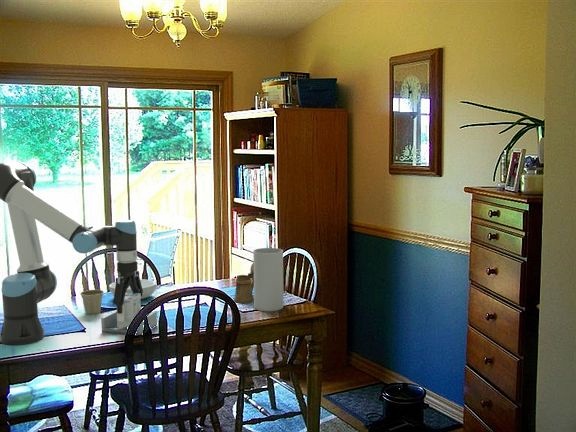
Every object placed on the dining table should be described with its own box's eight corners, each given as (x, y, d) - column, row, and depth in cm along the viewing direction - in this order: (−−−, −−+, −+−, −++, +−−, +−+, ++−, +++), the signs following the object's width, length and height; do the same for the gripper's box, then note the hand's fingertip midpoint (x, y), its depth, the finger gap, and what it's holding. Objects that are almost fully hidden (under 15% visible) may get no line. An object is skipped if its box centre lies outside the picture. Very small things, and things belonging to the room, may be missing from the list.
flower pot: (98, 316, 275) (97, 295, 273) (77, 314, 276) (76, 294, 275) (108, 309, 284) (107, 290, 283) (88, 308, 286) (87, 289, 284)
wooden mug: (266, 299, 299) (265, 260, 296) (240, 304, 291) (239, 263, 289) (255, 295, 306) (255, 257, 304) (230, 300, 298) (229, 260, 296)
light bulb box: (124, 319, 261) (124, 292, 260) (141, 319, 260) (141, 292, 259) (116, 327, 250) (115, 299, 249) (134, 327, 250) (133, 299, 249)
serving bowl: (166, 296, 306) (165, 281, 305) (134, 306, 288) (133, 291, 288) (132, 291, 317) (132, 276, 316) (99, 300, 299) (99, 285, 298)
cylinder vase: (288, 309, 283) (288, 251, 279) (263, 313, 276) (262, 254, 273) (274, 302, 293) (273, 246, 290) (249, 307, 287) (248, 249, 283)
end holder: (141, 336, 247) (140, 320, 247) (101, 332, 252) (101, 317, 251) (157, 326, 260) (156, 311, 259) (119, 323, 264) (118, 308, 263)
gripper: (120, 267, 240) (122, 326, 243) (150, 255, 263) (152, 309, 265) (101, 266, 242) (104, 325, 245) (133, 254, 265) (135, 308, 267)
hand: (129, 316), depth 255 cm, fingers open, 11 cm apart
